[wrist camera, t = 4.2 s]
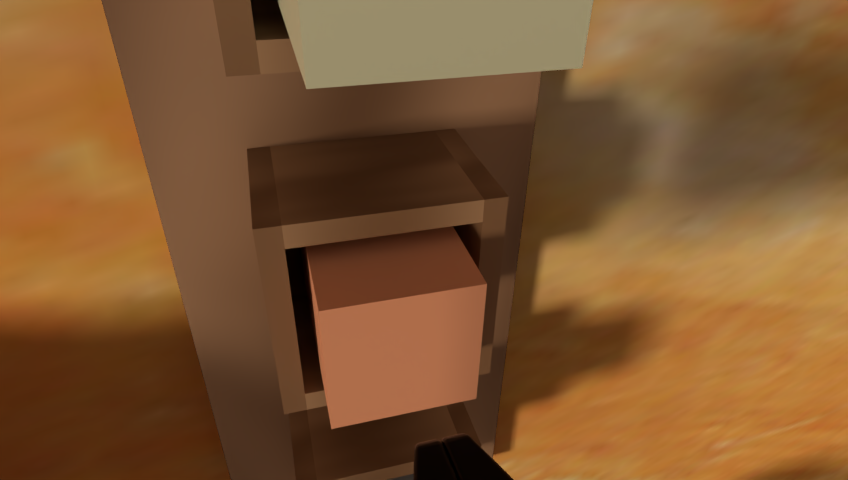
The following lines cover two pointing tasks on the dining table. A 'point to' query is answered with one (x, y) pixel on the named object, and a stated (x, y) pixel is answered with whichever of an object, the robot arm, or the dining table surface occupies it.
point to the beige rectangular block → (432, 38)
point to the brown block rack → (312, 217)
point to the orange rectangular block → (395, 323)
